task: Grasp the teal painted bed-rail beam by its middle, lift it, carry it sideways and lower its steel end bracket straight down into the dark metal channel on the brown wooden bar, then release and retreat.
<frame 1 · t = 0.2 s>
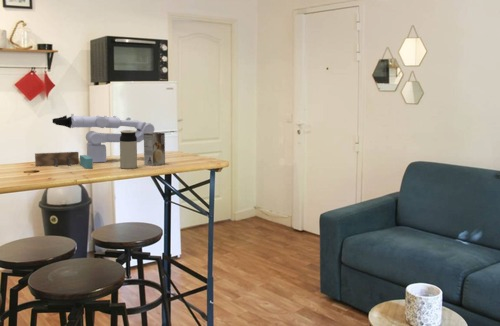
hand: (54, 121, 256), 21 cm above the table, tool horizontal, fingers open, 7 cm apart
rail: (86, 167, 252), on the table
brown wooden bar: (57, 164, 255), on the table
coffee box: (154, 164, 263), on the table
travel mug: (128, 168, 251), on the table
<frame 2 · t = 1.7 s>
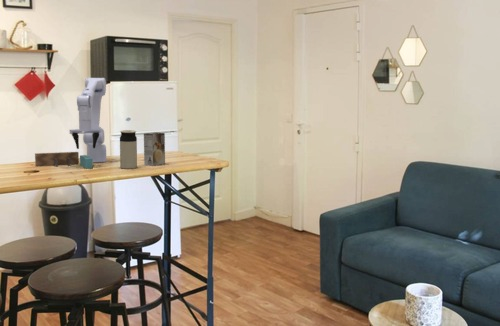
hand: (86, 148, 250), 9 cm above the table, tool pointing down, fingers open, 7 cm apart
nothing on the table moved.
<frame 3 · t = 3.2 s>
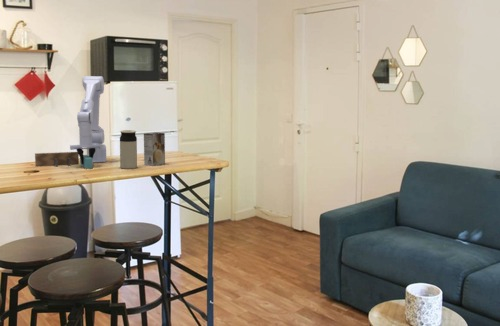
hand: (86, 163, 252), 1 cm above the table, tool pointing down, fingers closed on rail, 3 cm apart
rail: (86, 166, 252), on the table, touching gripper
everything else where it was.
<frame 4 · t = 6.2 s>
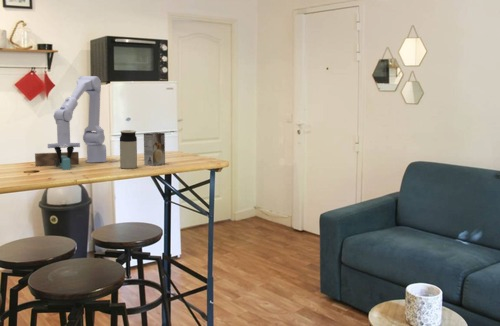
hand: (64, 162, 248), 2 cm above the table, tool pointing down, fingers closed on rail, 3 cm apart
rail: (64, 167, 248), on the table, touching gripper
everything else where it was.
when the fingers open (2 cm above the table, at t = 6.2 s): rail stays where it is, on the table.
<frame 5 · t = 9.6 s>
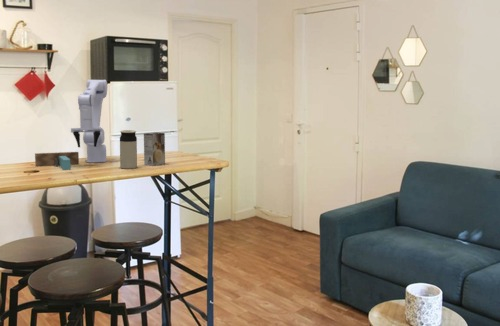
hand: (87, 146, 253), 9 cm above the table, tool pointing down, fingers open, 7 cm apart
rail: (64, 168, 248), on the table
everything else where it was.
at the end: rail 0.4 cm from the target spot on the table beside the brown wooden bar, on the table; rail tilted 0°; the gripper is holding nothing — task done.
